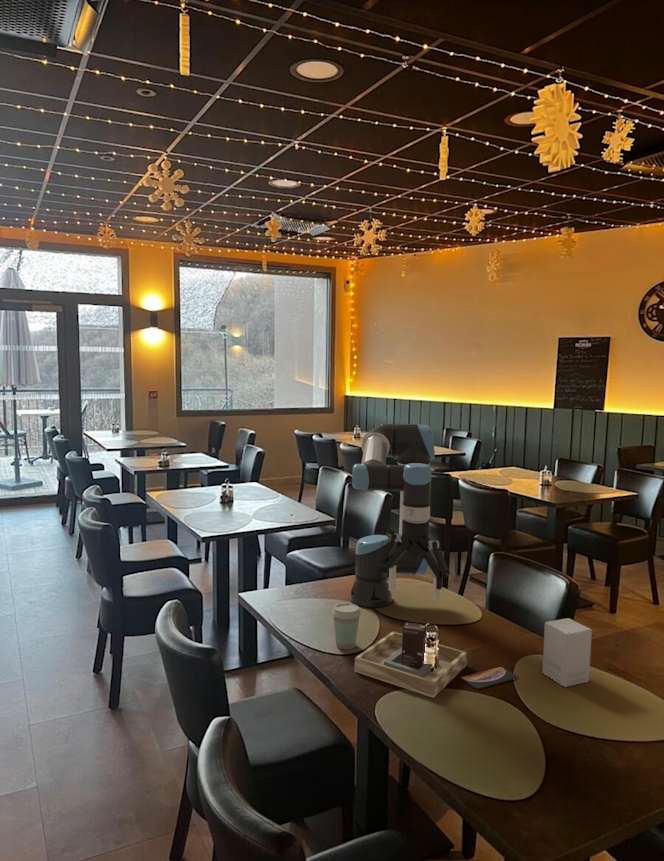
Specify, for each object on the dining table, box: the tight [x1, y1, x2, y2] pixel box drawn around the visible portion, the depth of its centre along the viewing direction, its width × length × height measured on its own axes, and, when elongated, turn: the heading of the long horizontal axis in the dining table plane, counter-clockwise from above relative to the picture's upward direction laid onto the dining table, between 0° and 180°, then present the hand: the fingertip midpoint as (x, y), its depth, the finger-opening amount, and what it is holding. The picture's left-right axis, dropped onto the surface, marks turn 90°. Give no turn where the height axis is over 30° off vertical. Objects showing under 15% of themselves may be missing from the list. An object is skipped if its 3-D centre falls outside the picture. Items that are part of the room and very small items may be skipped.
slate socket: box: [384, 648, 439, 678], centre depth 180 cm, size 12×12×2 cm
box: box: [401, 621, 427, 670], centre depth 179 cm, size 6×4×12 cm
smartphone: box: [460, 666, 519, 691], centre depth 175 cm, size 8×1×15 cm
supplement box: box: [542, 617, 593, 688], centre depth 176 cm, size 9×9×15 cm
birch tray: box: [354, 630, 468, 699], centre depth 180 cm, size 22×24×4 cm
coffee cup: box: [331, 602, 361, 651], centre depth 193 cm, size 8×8×12 cm
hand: (413, 594), depth 178 cm, fingers open, 13 cm apart
